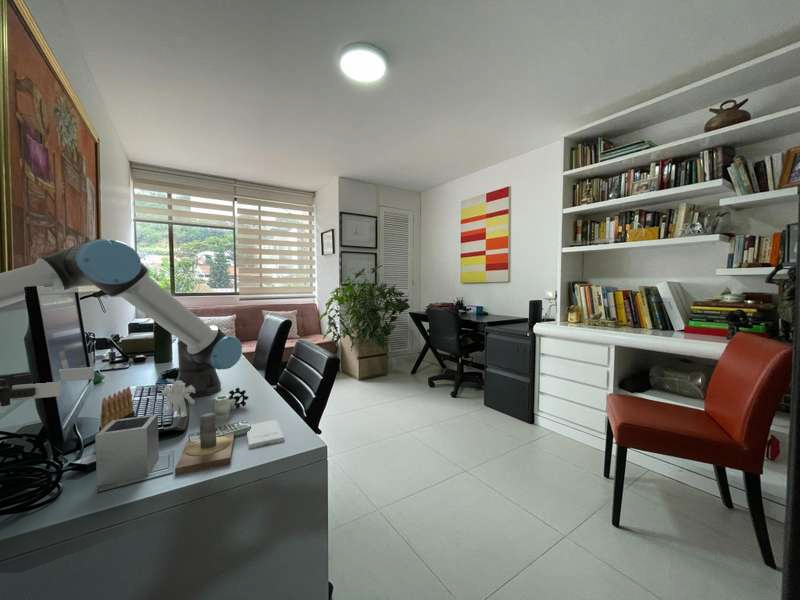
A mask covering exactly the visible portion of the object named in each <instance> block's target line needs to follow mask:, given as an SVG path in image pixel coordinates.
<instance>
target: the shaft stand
mask: <svg viewBox="0 0 800 600" xmlns="http://www.w3.org/2000/svg"><path fill="white" fill-rule="evenodd" d="M216 432H217V421H216V414H215V413H214V412H208V413H204V414H201V415H200V416H199V435H200V440H199V441H197V442H194V443H192V442H190V436H189V437H188V440H187V441H186V443H185V446H184V448H183V450H182V452H181V455H180V457H179V458H178V461H177V463H176V465H175V468H174V475H175V476H179V475H183V474H189V473H193V472H194V473H196V472H198V471H203V470H208V469H213V468H219V467H223V466H228V465H231V463H232V456H233V450H234V442H235V437H234V433H231V434H227V435H224V436H221V437H216Z"/></svg>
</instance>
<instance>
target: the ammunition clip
mask: <svg viewBox="0 0 800 600" xmlns="http://www.w3.org/2000/svg"><path fill="white" fill-rule="evenodd" d="M133 403H134V402H133V398H132V390H131V388H130V387H129V386H128V387H127V388H126V389H125V388H124V389H122V392H121V390H119V391H118V392H117V393H113V395H110V394H109V395H108V397H107V398H106V397H103V398H102V401H101V410H100V411H101V413H100V426H99V427H98V433H99V432H100V431H101V430H102V429H103V428H104V427H105V426H107V425H108V424H109V423H110V422H111V421H112V420H119V419H126V418H134V417H136V416H135V413H136V412H135V410H134V404H133Z"/></svg>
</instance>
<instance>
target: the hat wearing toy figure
mask: <svg viewBox="0 0 800 600" xmlns="http://www.w3.org/2000/svg"><path fill="white" fill-rule="evenodd" d="M165 380H166V381H167V383H170V384H171V385H167V386H166V387H163V389H162V390H161V395H163V396H164V397H166V398H165V406H167V407H168V406H170V405H171V404H172V412H173V411H174V412H175V411H178V412H179V408H180V412H186V413H187V407H186V406H187V405H186V401H188V403H190V404H191V405H194V404H195V399H193V397H192V398H191V397H190V396H189V394H190V393H191V392H193V393H195V392H194V391H195V389H194V386H191V385H192V384H191V385H189V387H187V388H185V383H184V382H183V381H180V380H178V381H177V380H176V381H175V379H174V378H172V379H171V378H166V379H165ZM182 382H183V383H182ZM170 386H171V387H170ZM188 392H190V393H188ZM185 400H186V401H185Z"/></svg>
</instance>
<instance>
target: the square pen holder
mask: <svg viewBox="0 0 800 600" xmlns="http://www.w3.org/2000/svg"><path fill="white" fill-rule="evenodd" d="M159 443H160V442H159V415H158V413H157V414H149V415H143V416H135V417H134V418H126V419H119V420H112V421H111V422H110V423H109V424H108V425H107V426H105V427H104V428H103V429H102V430H101V431H100V432H99V431H98V432H97V433H96V434H95V463H96V464H95V465H96V487H101V486H106V485H111V484H117V483H120V482H121V483H122V482H126V481H131V480H136V479H141V478H146V477H149V476H150V474H151V473H152V471H153V468H154V467H155V466H156V464H157V462H158V460H159V459H160V450H159V449H160V447H159V446H160V445H159Z"/></svg>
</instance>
